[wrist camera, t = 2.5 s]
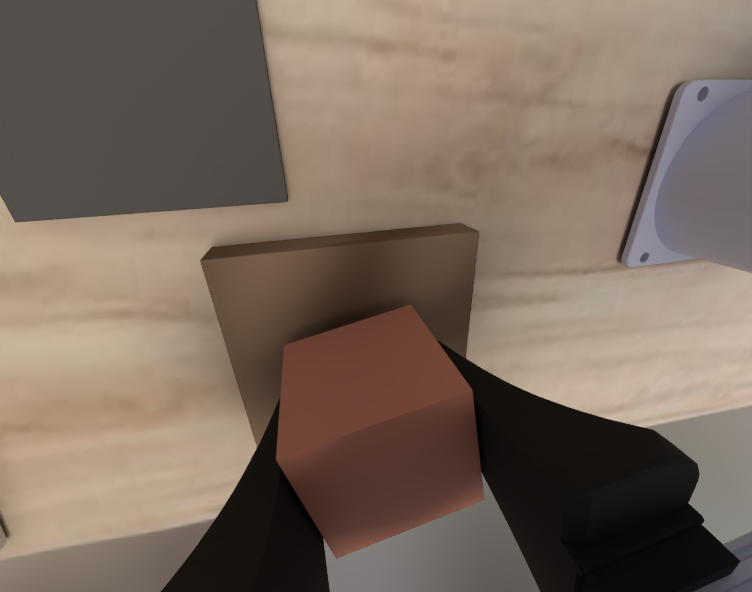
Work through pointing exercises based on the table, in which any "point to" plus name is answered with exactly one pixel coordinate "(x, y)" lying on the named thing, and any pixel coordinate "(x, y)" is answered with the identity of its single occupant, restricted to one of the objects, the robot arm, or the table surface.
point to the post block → (333, 295)
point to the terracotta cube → (376, 430)
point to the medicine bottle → (2, 538)
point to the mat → (134, 108)
